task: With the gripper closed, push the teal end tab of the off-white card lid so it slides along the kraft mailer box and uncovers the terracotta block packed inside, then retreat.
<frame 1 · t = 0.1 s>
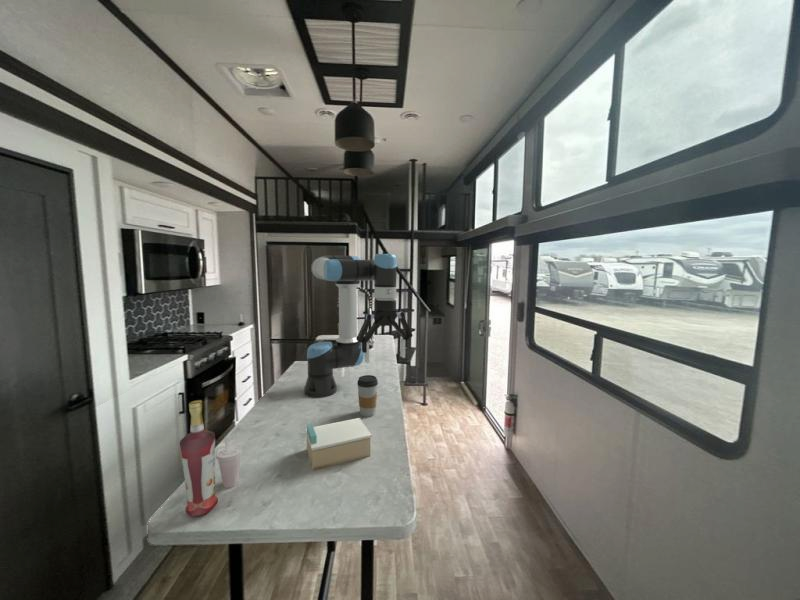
hand: (385, 359, 115), 28 cm above the table, fingers open, 13 cm apart
lid: (337, 429, 106), point 8 cm above the table, slide at 0.0 cm
liquor: (202, 510, 82), on the table
coffee cup: (367, 413, 134), on the table
mailer box: (338, 452, 107), on the table
smoothie: (231, 484, 91), on the table
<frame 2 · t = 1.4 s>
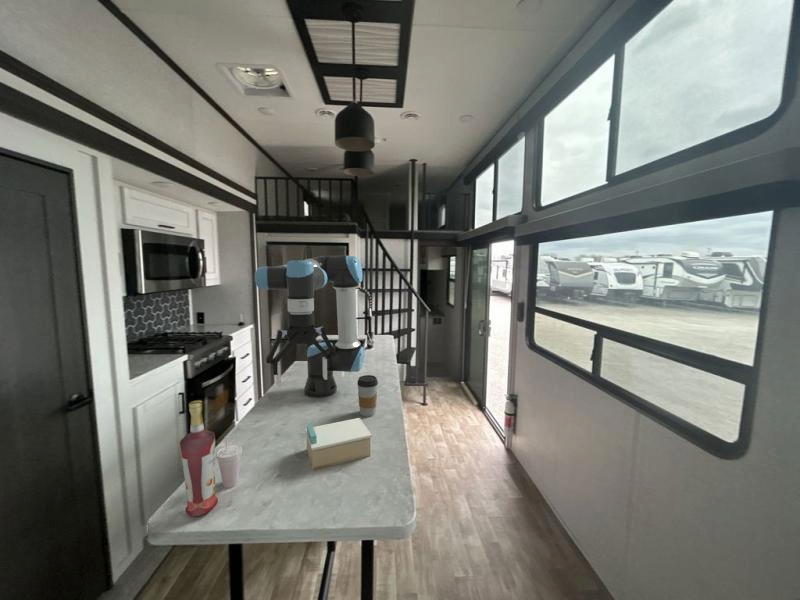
hand: (302, 381, 100), 26 cm above the table, fingers open, 13 cm apart
nothing on the table moved.
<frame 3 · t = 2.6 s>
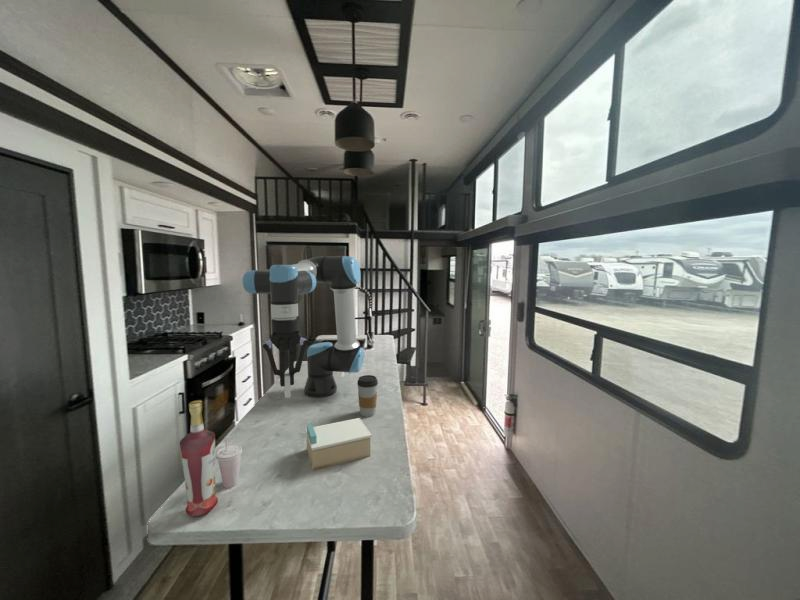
hand: (287, 395, 98), 22 cm above the table, fingers closed
nothing on the table moved.
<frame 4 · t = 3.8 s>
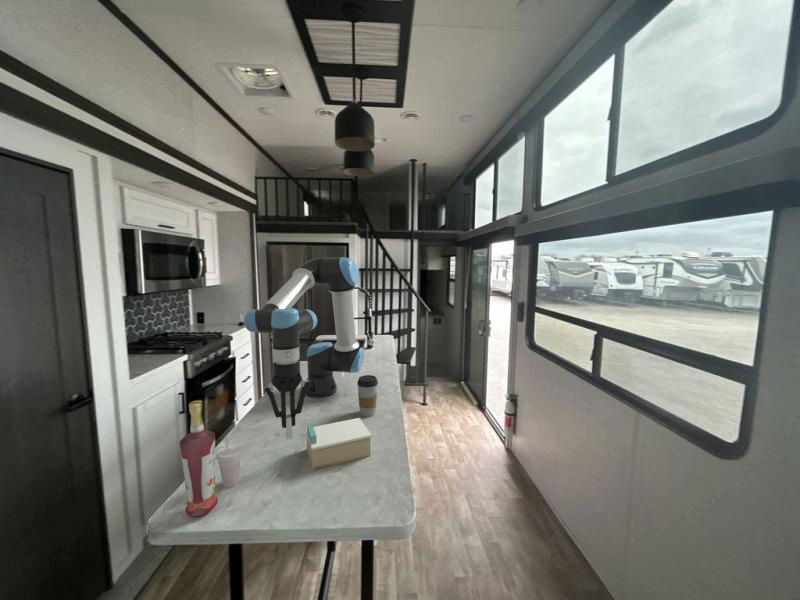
hand: (288, 436, 99), 9 cm above the table, fingers closed
nothing on the table moved.
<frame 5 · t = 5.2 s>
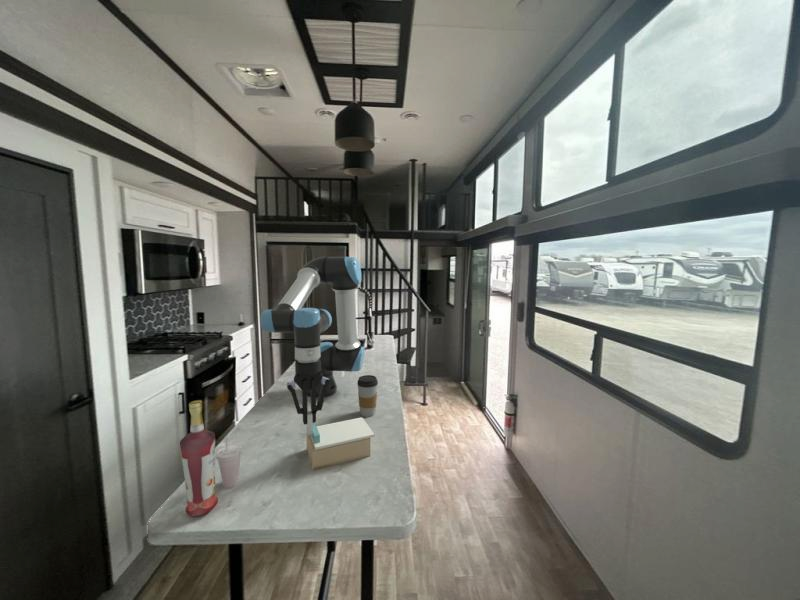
hand: (309, 432, 102), 9 cm above the table, fingers closed
lid: (340, 428, 106), point 8 cm above the table, slide at 1.0 cm, touching gripper
everything else where it was.
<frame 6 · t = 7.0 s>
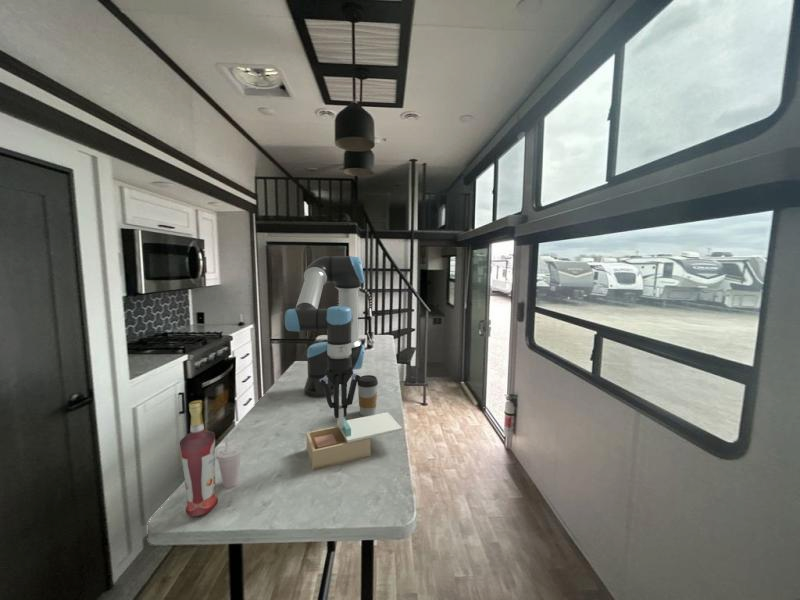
hand: (340, 426, 106), 9 cm above the table, fingers closed
lid: (369, 422, 110), point 8 cm above the table, slide at 10.7 cm, touching gripper
everything else where it was.
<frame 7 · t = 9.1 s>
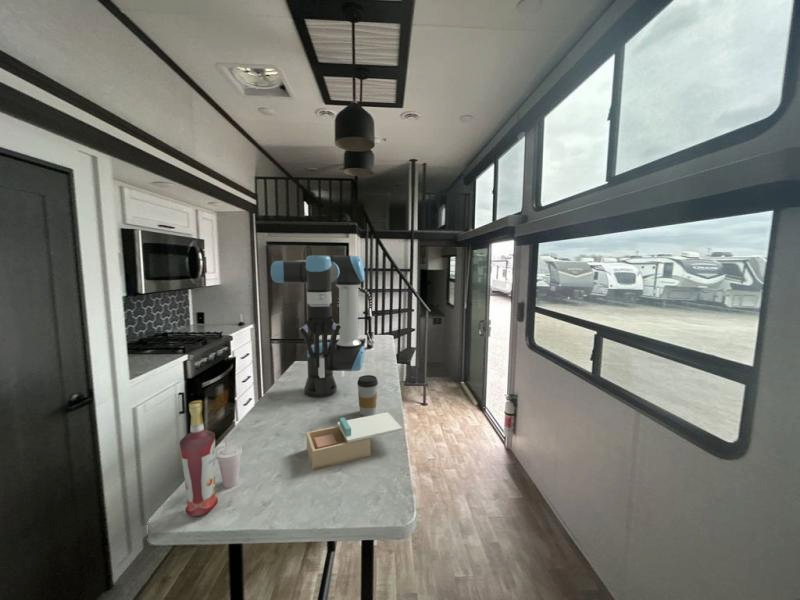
hand: (321, 376, 106), 25 cm above the table, fingers closed
lid: (369, 422, 110), point 8 cm above the table, slide at 10.8 cm
everything else where it was.
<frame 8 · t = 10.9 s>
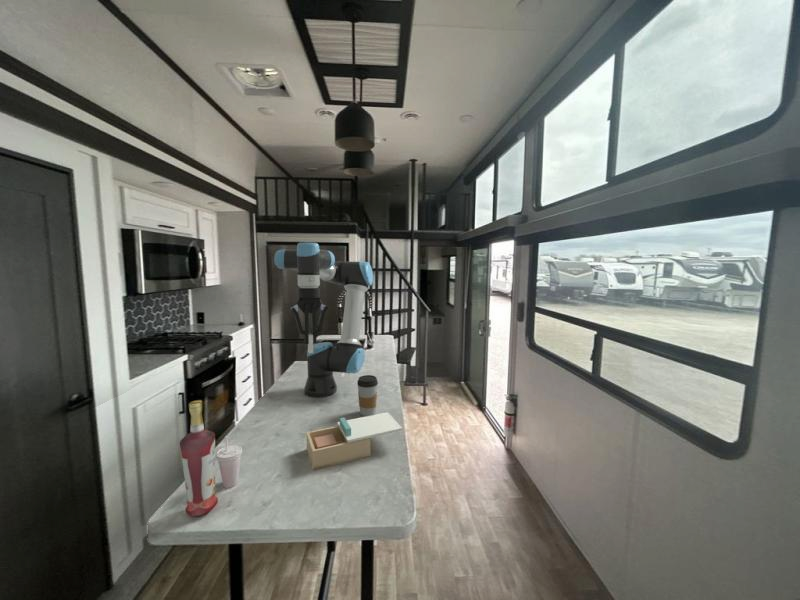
hand: (310, 352, 118), 29 cm above the table, fingers closed
nothing on the table moved.
at the end: lid slide at 10.8 cm; lid touching nothing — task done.
